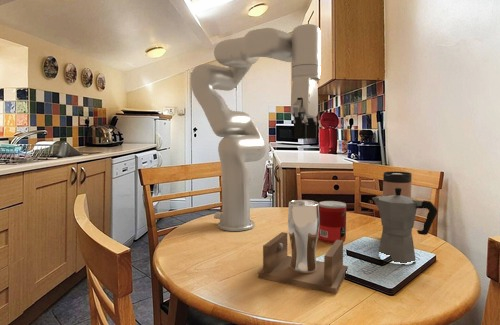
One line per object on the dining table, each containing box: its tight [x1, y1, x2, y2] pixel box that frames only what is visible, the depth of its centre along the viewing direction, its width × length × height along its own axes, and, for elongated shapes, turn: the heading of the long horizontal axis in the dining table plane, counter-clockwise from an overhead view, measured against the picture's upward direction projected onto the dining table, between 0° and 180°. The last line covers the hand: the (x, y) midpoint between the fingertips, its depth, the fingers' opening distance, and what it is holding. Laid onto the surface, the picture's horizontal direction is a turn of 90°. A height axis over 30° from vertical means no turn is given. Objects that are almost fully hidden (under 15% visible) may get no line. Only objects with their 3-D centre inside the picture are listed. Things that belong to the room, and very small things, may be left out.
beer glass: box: [287, 199, 320, 274], centre depth 71 cm, size 7×7×15 cm
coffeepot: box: [371, 188, 438, 263], centre depth 79 cm, size 15×9×18 cm, turn 43°
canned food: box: [318, 200, 347, 244], centre depth 95 cm, size 8×8×11 cm
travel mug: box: [382, 171, 413, 198], centre depth 94 cm, size 8×8×20 cm
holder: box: [257, 231, 349, 295], centre depth 71 cm, size 17×12×7 cm
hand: (305, 138), depth 86 cm, fingers open, 9 cm apart
